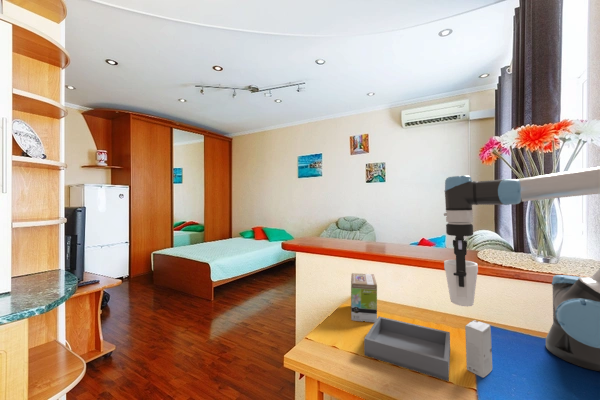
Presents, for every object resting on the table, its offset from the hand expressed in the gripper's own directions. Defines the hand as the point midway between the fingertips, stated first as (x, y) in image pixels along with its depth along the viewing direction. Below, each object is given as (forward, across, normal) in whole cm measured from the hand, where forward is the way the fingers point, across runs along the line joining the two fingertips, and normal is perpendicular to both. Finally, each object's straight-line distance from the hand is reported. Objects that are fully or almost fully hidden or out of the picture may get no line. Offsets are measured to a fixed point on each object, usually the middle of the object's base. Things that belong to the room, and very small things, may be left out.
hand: (461, 291), depth 83 cm
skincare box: (+17, +14, +3) cm, 22 cm away
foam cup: (+4, 0, 0) cm, 4 cm away
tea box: (+16, -4, -35) cm, 38 cm away
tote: (+16, +15, -15) cm, 26 cm away
